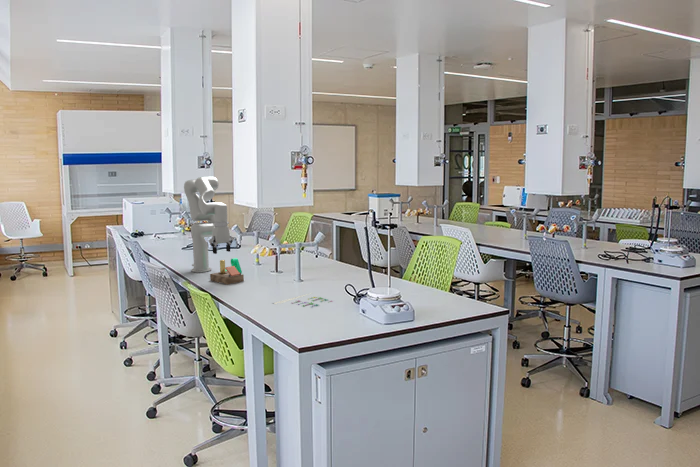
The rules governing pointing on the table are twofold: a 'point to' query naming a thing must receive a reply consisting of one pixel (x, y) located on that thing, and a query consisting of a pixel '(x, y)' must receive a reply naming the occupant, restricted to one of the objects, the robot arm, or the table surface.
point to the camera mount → (236, 264)
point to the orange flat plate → (232, 271)
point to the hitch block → (226, 278)
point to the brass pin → (222, 266)
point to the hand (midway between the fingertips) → (221, 252)
